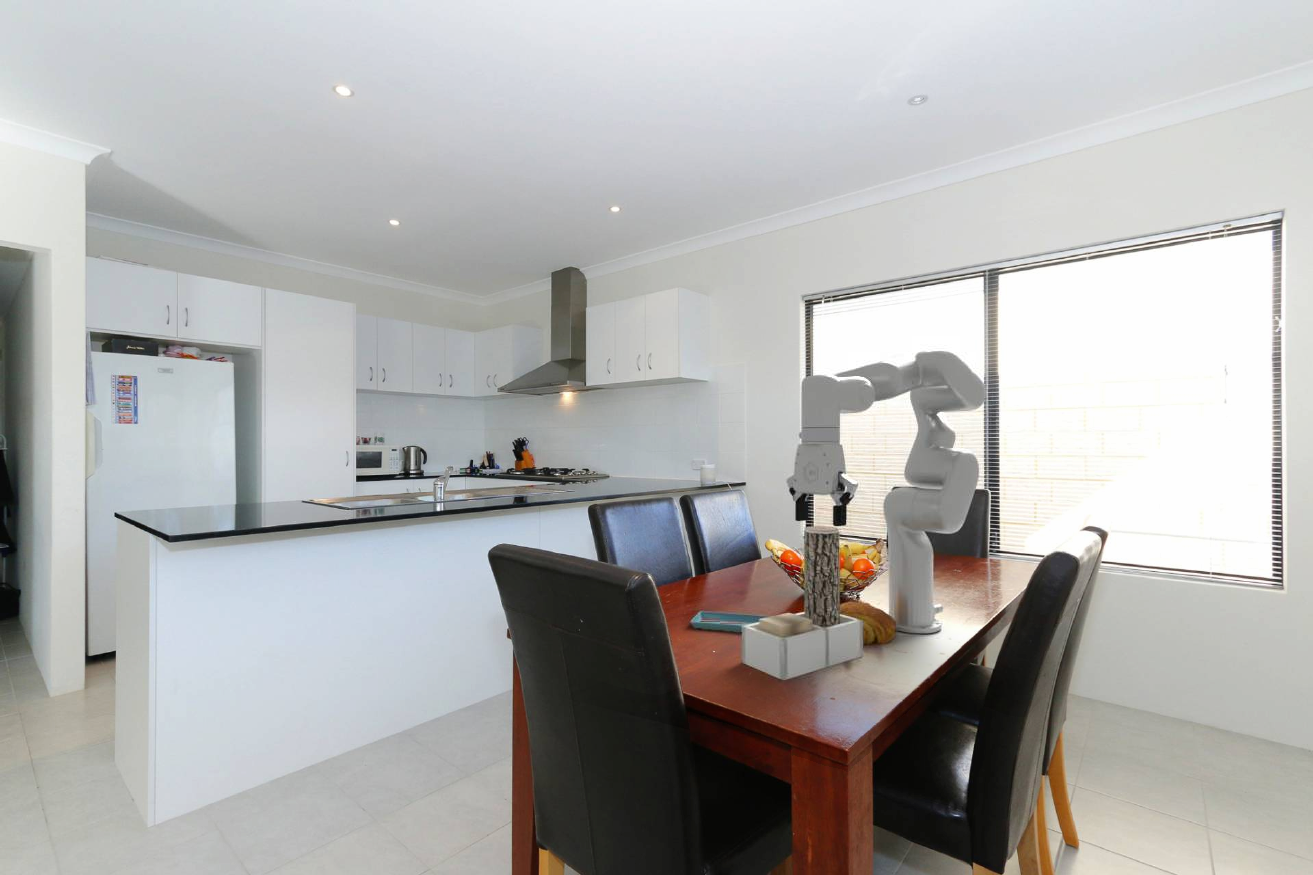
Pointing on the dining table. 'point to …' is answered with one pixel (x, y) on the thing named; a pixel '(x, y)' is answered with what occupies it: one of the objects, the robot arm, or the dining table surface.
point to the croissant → (871, 622)
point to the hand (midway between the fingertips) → (820, 523)
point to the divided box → (802, 648)
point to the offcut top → (785, 625)
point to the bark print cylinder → (822, 575)
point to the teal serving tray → (724, 621)
